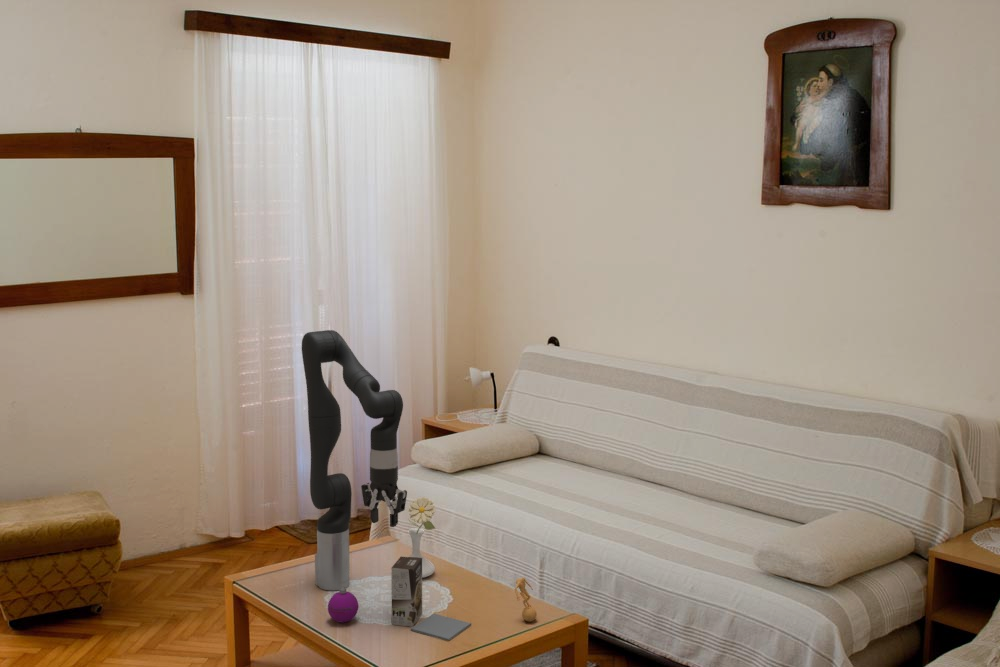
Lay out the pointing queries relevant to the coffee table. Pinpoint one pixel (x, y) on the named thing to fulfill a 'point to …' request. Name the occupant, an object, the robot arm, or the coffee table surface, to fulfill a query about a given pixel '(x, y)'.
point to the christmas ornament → (343, 606)
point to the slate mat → (441, 627)
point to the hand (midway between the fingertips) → (384, 524)
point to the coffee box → (406, 591)
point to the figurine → (529, 611)
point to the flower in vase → (420, 513)
